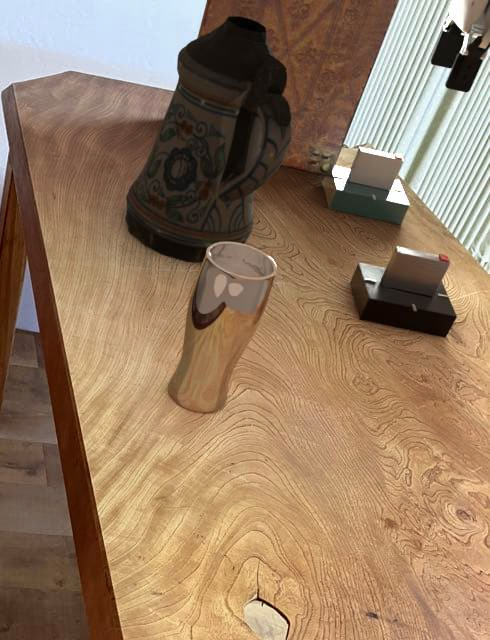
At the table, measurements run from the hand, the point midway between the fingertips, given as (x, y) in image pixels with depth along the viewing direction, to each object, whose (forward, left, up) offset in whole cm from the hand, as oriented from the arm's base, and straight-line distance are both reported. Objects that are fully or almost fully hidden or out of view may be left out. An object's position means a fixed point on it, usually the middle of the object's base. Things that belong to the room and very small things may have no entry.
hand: (448, 77), depth 117 cm
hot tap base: (+3, +27, -20) cm, 34 cm away
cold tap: (+3, -4, -17) cm, 18 cm away
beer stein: (+29, +19, -20) cm, 40 cm away
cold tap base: (+3, -4, -20) cm, 21 cm away
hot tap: (+3, +27, -17) cm, 32 cm away
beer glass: (+29, +54, -20) cm, 65 cm away
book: (+19, -17, -20) cm, 33 cm away
